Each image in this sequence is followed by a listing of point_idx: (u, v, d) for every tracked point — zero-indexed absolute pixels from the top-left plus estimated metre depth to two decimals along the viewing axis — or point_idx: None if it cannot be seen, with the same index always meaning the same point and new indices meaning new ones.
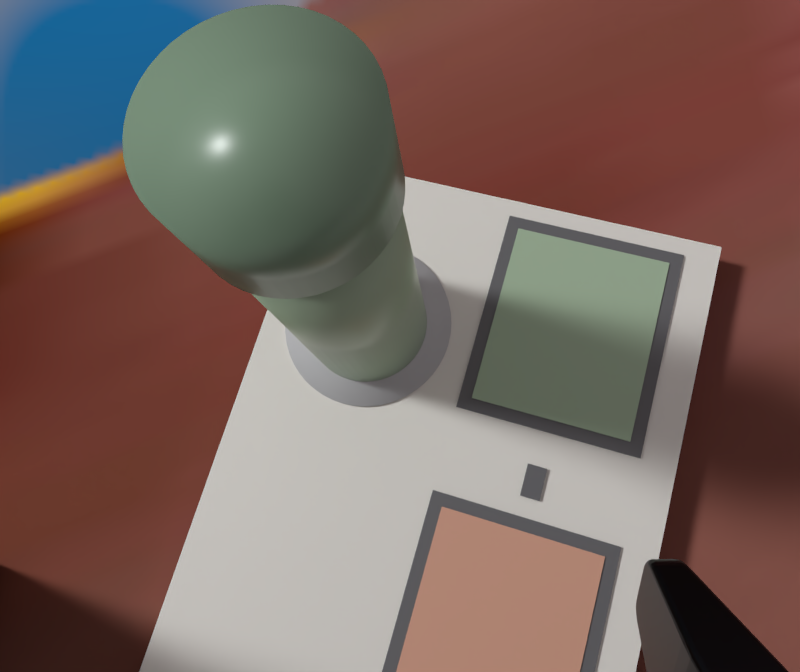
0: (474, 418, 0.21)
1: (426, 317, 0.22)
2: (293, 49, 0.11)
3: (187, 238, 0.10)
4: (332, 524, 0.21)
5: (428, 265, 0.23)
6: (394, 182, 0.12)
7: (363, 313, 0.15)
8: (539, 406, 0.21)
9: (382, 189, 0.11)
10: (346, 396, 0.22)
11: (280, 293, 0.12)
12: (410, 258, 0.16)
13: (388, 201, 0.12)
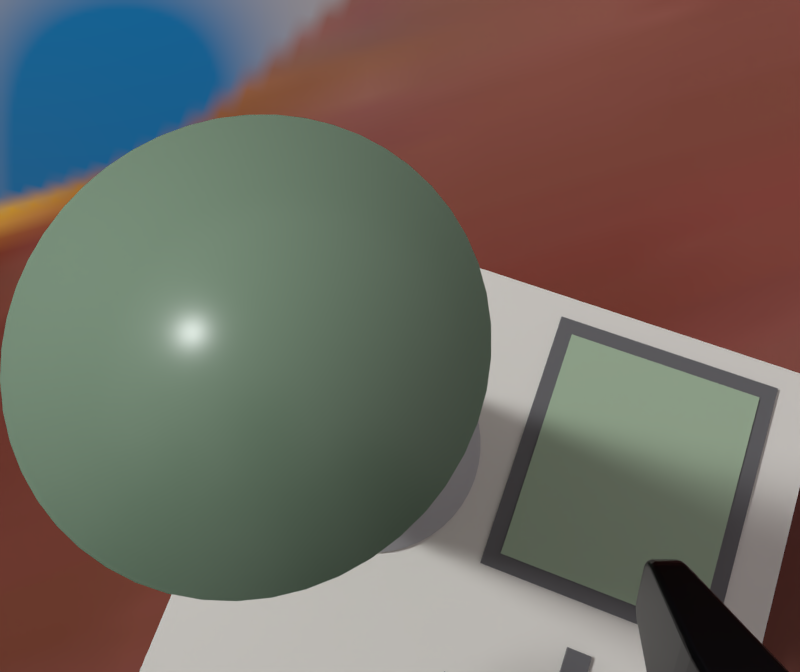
0: (502, 580, 0.17)
1: None
2: (320, 206, 0.06)
3: (102, 561, 0.06)
4: None
5: None
6: None
7: None
8: (586, 572, 0.17)
9: None
10: None
11: None
12: None
13: None
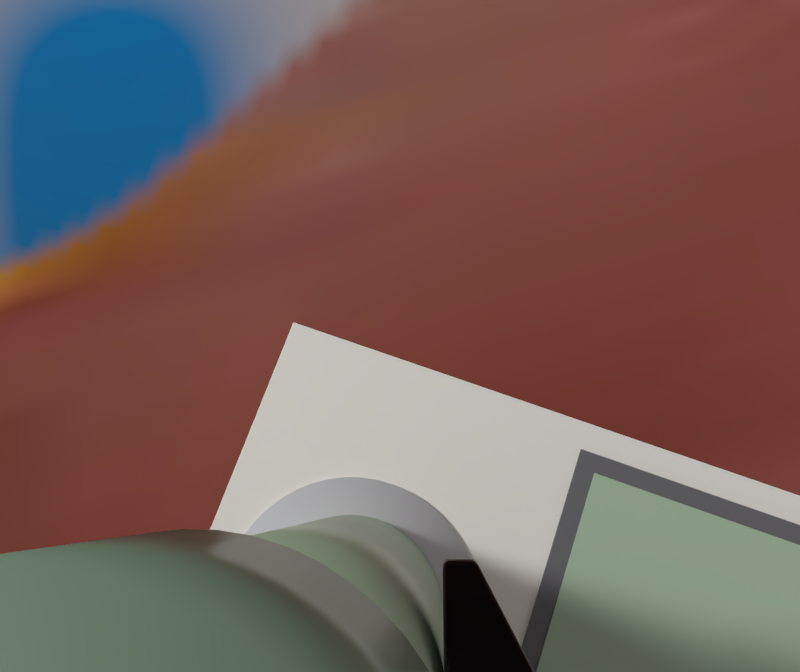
0: None
1: None
2: None
3: None
4: None
5: (450, 521, 0.14)
6: None
7: None
8: None
9: None
10: None
11: None
12: None
13: None
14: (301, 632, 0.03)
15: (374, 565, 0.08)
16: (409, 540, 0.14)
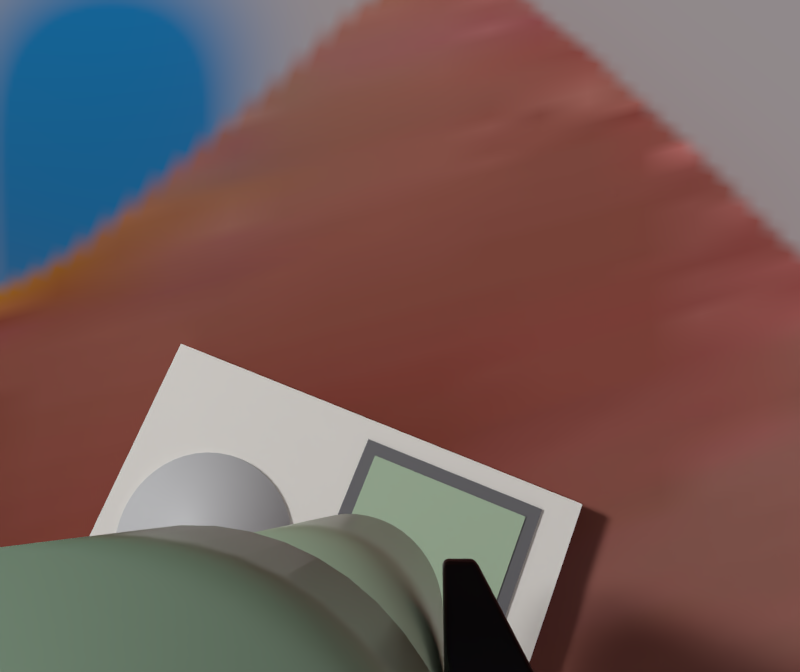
0: None
1: None
2: None
3: None
4: None
5: (275, 484, 0.21)
6: None
7: None
8: None
9: None
10: None
11: None
12: None
13: None
14: (298, 625, 0.03)
15: (373, 563, 0.08)
16: (408, 539, 0.14)
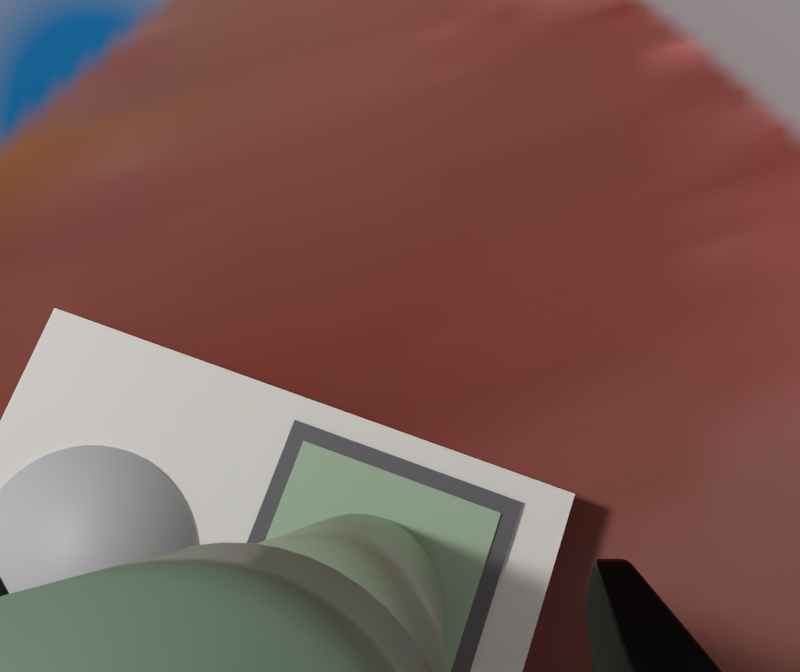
0: None
1: None
2: None
3: None
4: None
5: (175, 483, 0.16)
6: None
7: None
8: None
9: None
10: None
11: None
12: None
13: None
14: (327, 631, 0.04)
15: (380, 566, 0.09)
16: (411, 537, 0.15)
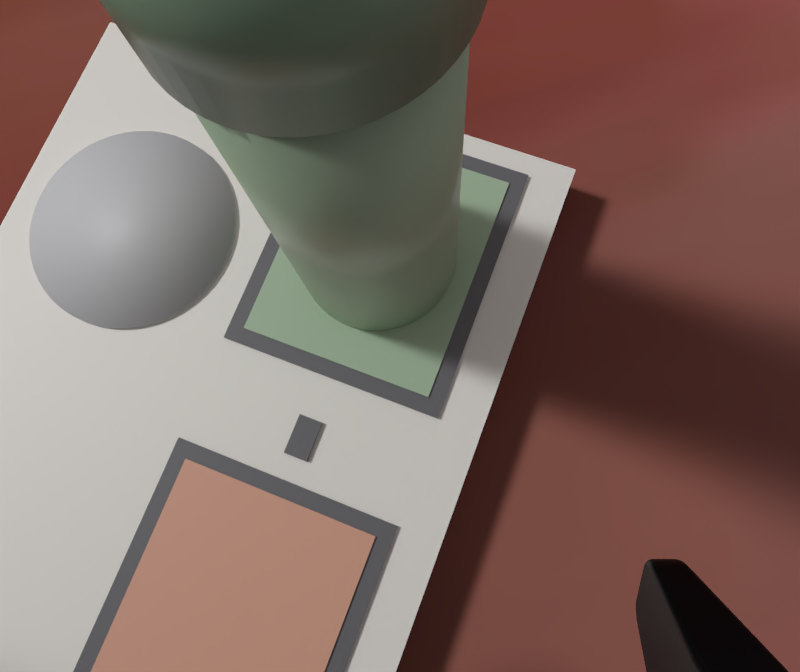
0: (244, 353, 0.17)
1: None
2: None
3: None
4: (49, 470, 0.16)
5: (218, 162, 0.18)
6: None
7: (391, 204, 0.10)
8: (326, 345, 0.17)
9: None
10: (91, 314, 0.17)
11: (267, 120, 0.07)
12: (463, 139, 0.11)
13: None
14: None
15: None
16: None
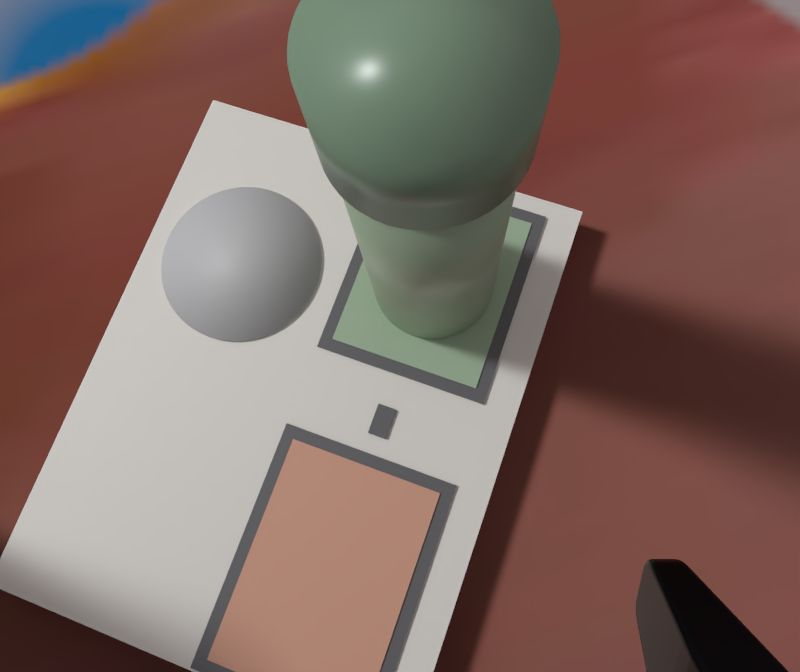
0: (333, 358, 0.22)
1: None
2: None
3: (352, 152, 0.10)
4: (188, 450, 0.22)
5: (305, 210, 0.23)
6: (543, 119, 0.12)
7: (467, 258, 0.15)
8: (396, 351, 0.22)
9: (538, 123, 0.11)
10: (213, 330, 0.22)
11: (413, 223, 0.12)
12: None
13: (535, 138, 0.12)
14: None
15: None
16: None
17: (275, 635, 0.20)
